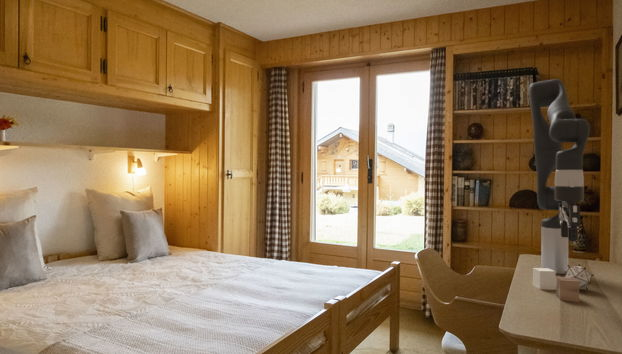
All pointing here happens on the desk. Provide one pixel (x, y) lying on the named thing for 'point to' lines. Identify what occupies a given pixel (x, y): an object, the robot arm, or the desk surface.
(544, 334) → the desk surface
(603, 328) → the desk surface
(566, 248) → the robot arm
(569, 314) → the desk surface
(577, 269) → the game die
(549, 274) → the white block
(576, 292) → the walnut block
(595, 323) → the desk surface
